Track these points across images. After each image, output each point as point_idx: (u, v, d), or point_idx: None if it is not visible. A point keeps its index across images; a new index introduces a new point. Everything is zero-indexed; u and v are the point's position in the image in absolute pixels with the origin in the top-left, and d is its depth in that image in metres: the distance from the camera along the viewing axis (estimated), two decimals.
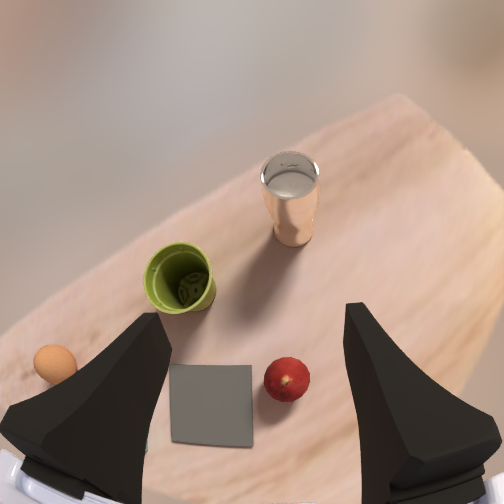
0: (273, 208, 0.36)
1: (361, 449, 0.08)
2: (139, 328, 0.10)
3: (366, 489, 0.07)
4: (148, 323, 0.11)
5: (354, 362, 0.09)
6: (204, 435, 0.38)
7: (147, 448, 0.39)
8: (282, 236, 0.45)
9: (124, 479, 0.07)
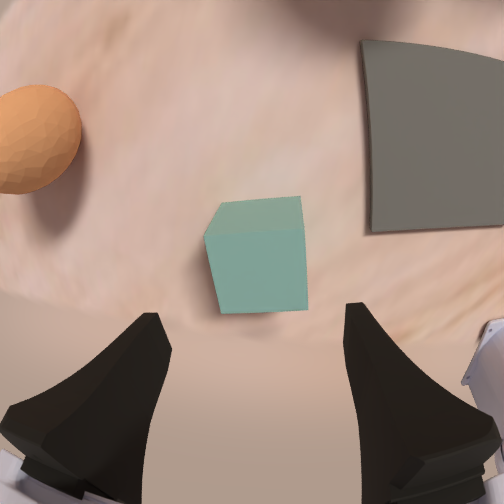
0: None
1: (361, 449, 0.08)
2: (139, 328, 0.10)
3: (366, 489, 0.07)
4: (148, 323, 0.11)
5: (354, 362, 0.09)
6: (442, 208, 0.18)
7: None
8: None
9: (124, 479, 0.07)
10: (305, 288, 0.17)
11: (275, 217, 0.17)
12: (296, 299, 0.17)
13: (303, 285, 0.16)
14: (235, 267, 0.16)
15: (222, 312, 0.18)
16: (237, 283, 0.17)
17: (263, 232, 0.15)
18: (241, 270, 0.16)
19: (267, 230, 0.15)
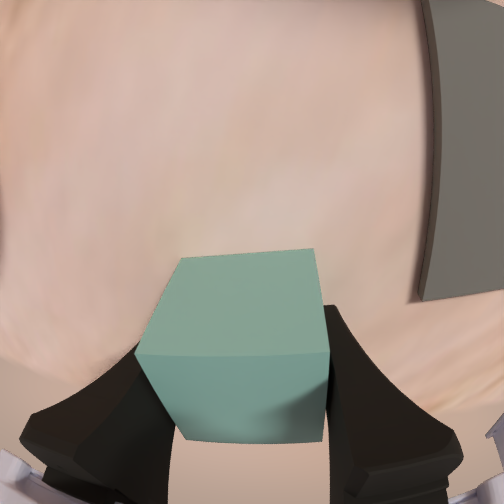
0: None
1: (330, 453, 0.08)
2: None
3: (332, 493, 0.07)
4: None
5: None
6: None
7: None
8: None
9: (152, 486, 0.07)
10: (320, 422, 0.09)
11: (270, 311, 0.09)
12: (303, 433, 0.09)
13: (318, 420, 0.09)
14: (198, 398, 0.08)
15: (187, 439, 0.10)
16: (204, 415, 0.09)
17: (247, 357, 0.07)
18: (209, 402, 0.08)
19: (254, 352, 0.07)
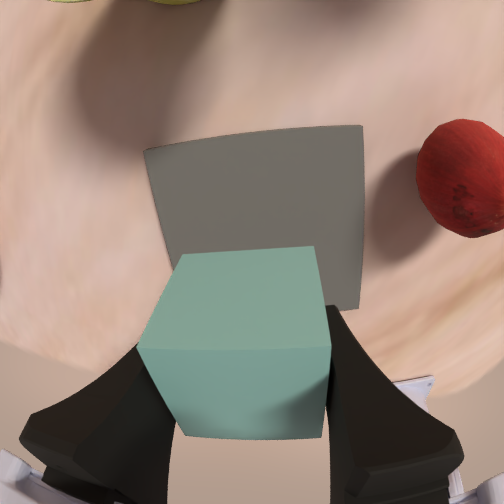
0: None
1: (330, 453, 0.08)
2: None
3: (332, 493, 0.07)
4: None
5: None
6: None
7: None
8: None
9: (151, 486, 0.07)
10: (320, 418, 0.09)
11: (272, 306, 0.09)
12: (303, 429, 0.09)
13: (318, 415, 0.09)
14: (199, 393, 0.08)
15: (186, 434, 0.10)
16: (204, 410, 0.09)
17: (249, 351, 0.07)
18: (210, 397, 0.08)
19: (256, 346, 0.07)
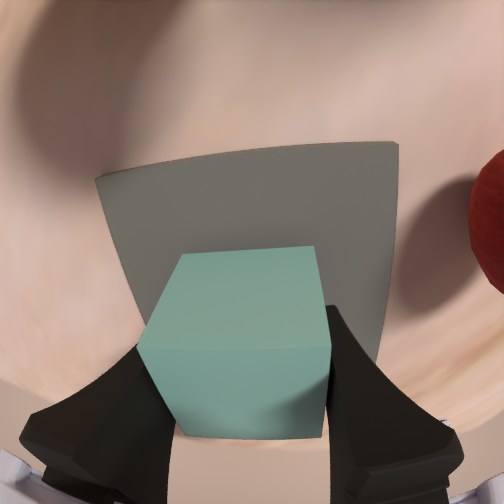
0: None
1: (330, 453, 0.08)
2: None
3: (332, 493, 0.07)
4: None
5: None
6: None
7: None
8: None
9: (152, 485, 0.07)
10: (320, 418, 0.09)
11: (272, 306, 0.09)
12: (303, 429, 0.09)
13: (318, 415, 0.09)
14: (199, 392, 0.08)
15: (186, 434, 0.10)
16: (205, 410, 0.09)
17: (249, 351, 0.07)
18: (210, 397, 0.08)
19: (256, 346, 0.07)
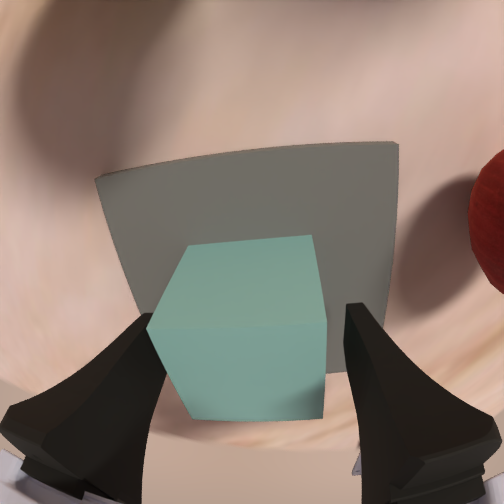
0: None
1: (361, 449, 0.08)
2: (139, 328, 0.10)
3: (366, 489, 0.07)
4: (148, 323, 0.11)
5: (354, 362, 0.09)
6: None
7: None
8: None
9: (124, 479, 0.07)
10: (321, 397, 0.09)
11: (272, 289, 0.09)
12: (305, 409, 0.10)
13: (319, 394, 0.09)
14: (205, 372, 0.09)
15: (193, 418, 0.11)
16: (210, 390, 0.10)
17: (251, 329, 0.08)
18: (216, 377, 0.09)
19: (258, 323, 0.08)
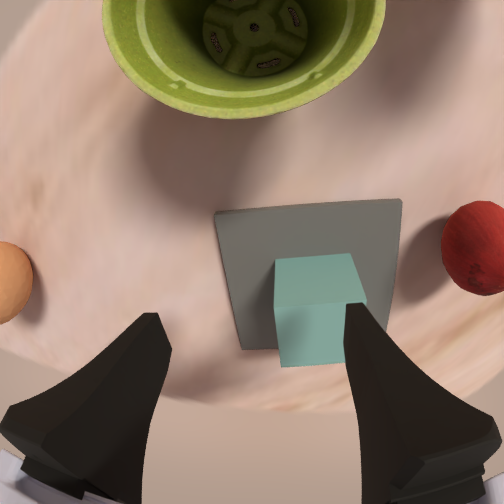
0: None
1: (361, 449, 0.08)
2: (139, 328, 0.10)
3: (366, 489, 0.07)
4: (148, 323, 0.11)
5: (354, 362, 0.09)
6: None
7: None
8: None
9: (124, 479, 0.07)
10: None
11: (336, 284, 0.17)
12: None
13: None
14: (300, 331, 0.17)
15: (282, 366, 0.19)
16: (299, 343, 0.18)
17: (330, 304, 0.16)
18: (305, 334, 0.17)
19: (333, 301, 0.16)
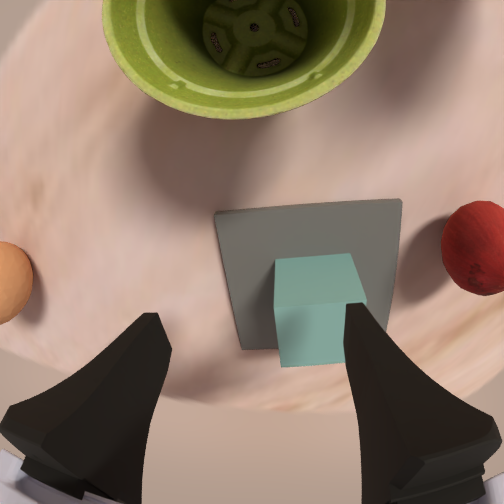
0: None
1: (361, 449, 0.08)
2: (139, 328, 0.10)
3: (366, 489, 0.07)
4: (148, 323, 0.11)
5: (354, 362, 0.09)
6: None
7: None
8: None
9: (124, 479, 0.07)
10: None
11: (336, 284, 0.17)
12: None
13: None
14: (300, 331, 0.17)
15: (282, 366, 0.19)
16: (299, 343, 0.18)
17: (330, 304, 0.16)
18: (305, 334, 0.17)
19: (333, 301, 0.16)
